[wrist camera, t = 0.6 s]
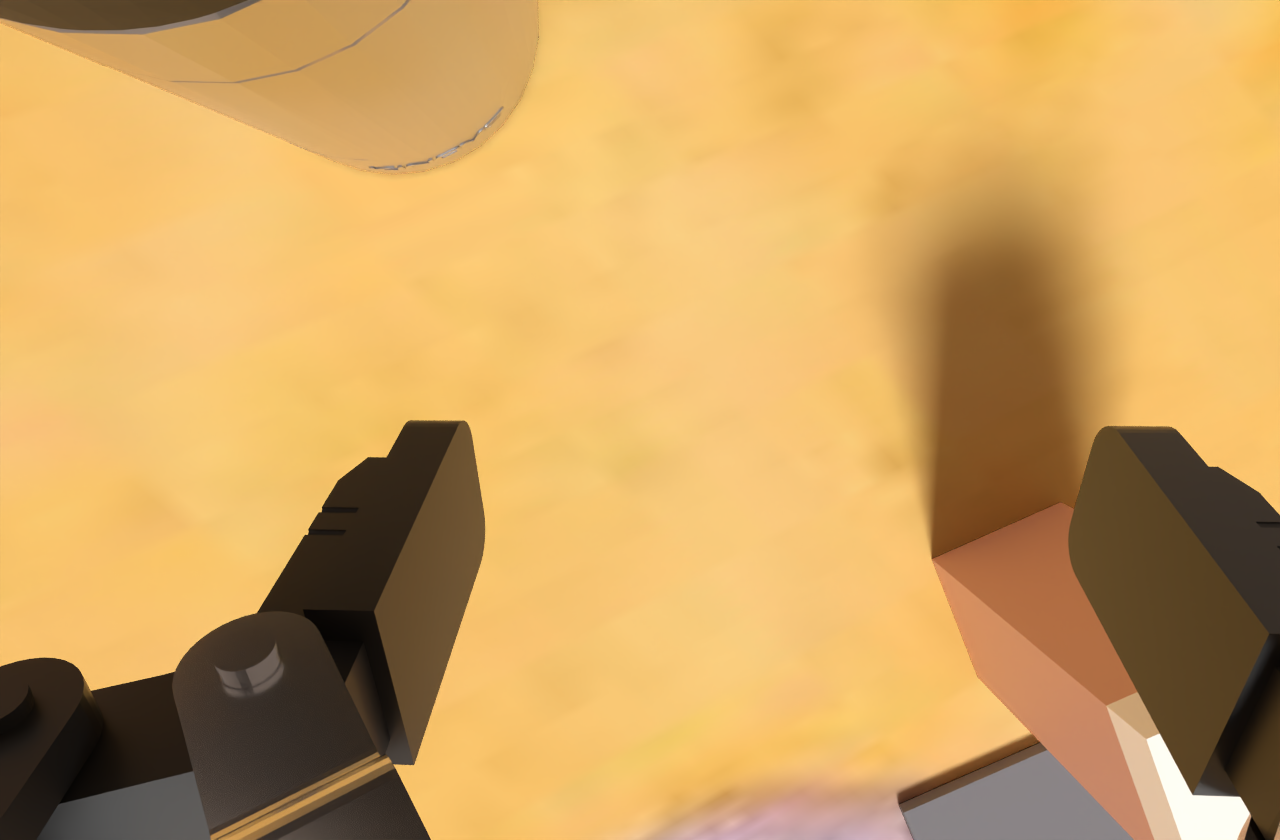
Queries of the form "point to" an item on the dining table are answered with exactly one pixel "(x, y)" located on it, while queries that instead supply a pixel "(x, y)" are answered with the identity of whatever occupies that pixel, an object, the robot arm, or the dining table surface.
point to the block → (1071, 678)
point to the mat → (1012, 804)
